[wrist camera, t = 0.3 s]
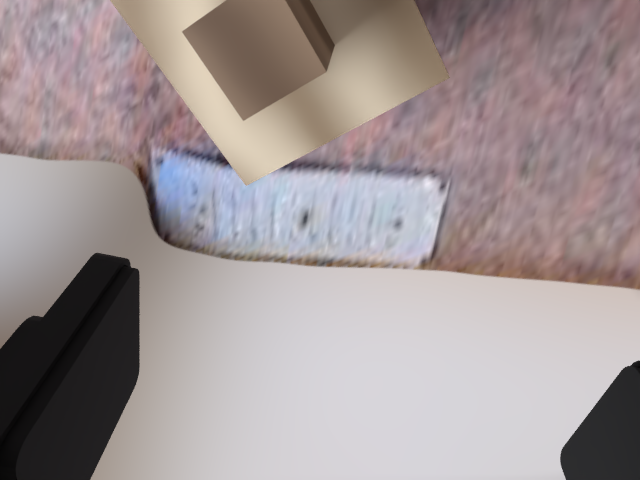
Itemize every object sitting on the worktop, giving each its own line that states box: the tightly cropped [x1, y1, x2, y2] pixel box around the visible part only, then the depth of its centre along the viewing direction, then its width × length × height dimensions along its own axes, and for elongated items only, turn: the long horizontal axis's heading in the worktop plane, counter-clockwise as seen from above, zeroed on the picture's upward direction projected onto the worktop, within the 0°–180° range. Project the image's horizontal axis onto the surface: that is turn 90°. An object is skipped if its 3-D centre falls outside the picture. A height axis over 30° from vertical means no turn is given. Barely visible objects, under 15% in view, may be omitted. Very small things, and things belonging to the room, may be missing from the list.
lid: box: [110, 0, 450, 186], centre depth 24 cm, size 13×13×7 cm
